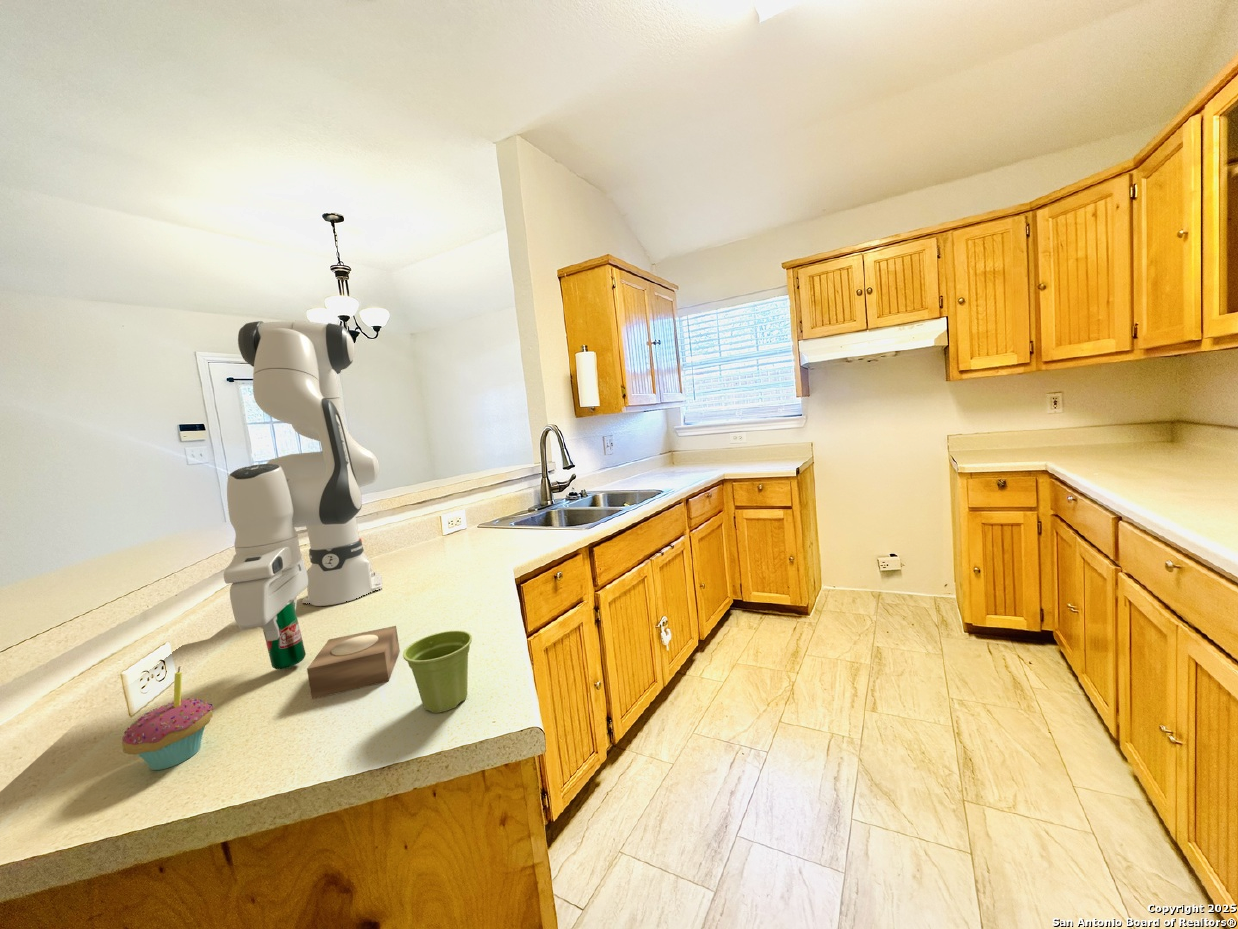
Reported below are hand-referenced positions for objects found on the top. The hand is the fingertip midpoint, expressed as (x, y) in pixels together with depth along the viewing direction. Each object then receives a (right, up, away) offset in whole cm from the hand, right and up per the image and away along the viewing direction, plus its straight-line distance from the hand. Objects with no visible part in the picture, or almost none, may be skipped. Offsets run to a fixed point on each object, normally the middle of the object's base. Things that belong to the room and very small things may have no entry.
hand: (282, 630), depth 81 cm
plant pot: (+35, -5, -15) cm, 38 cm away
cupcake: (+2, -9, -22) cm, 24 cm away
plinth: (+16, -6, -4) cm, 18 cm away
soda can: (+1, -6, +1) cm, 6 cm away
